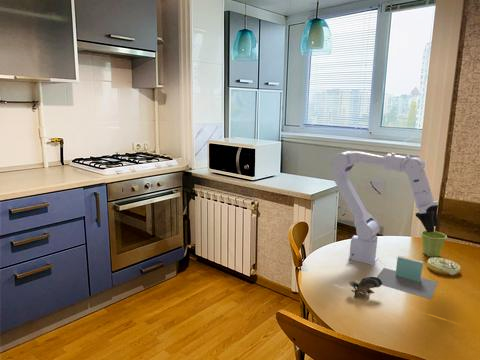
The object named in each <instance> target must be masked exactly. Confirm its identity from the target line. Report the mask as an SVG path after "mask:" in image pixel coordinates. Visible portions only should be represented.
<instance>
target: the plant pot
mask: <svg viewBox="0 0 480 360" xmlns="http://www.w3.org/2000/svg"><path fill="white" fill-rule="evenodd" d="M420 234H421V237H422V238H421V239H422V254H424V255H425V256H428V257H430V258H435V257H436V258H440V255H441V251H442V248H443V246H444V244H445V243H444V242H445V241H446V239H447V238H448V236H447V234H445V233H443V232H440V231H435V230H434V232H427V231H426V230H422V231H420Z"/></svg>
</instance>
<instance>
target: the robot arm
mask: <svg viewBox="0 0 480 360" xmlns="http://www.w3.org/2000/svg"><path fill="white" fill-rule="evenodd" d="M358 163H365V164H370V165H371V164H372V165H380V166H381V167H383V169H385V170H388V171H394V172H398V173H405V174H406V175H407V177H408V181H409V185H410V188H411V193H412V195H413V198H414V201H415V202H414V203H415V207H416V209H418V212H416V213H415V217H416V218H417V219H418V220H419V221H420V222H421V224H422V226H423V227H424V229H425V231H427V232H434V231H435V227H438V225H439V223H438V222H439V220H438V210H439V201H438V200H435V199H434V196H433V193H432V190H431V186H430V183H429V179H428V176H427V174H426V171H425V166H426V164H425V163H426V162H425V161H424V159H422V158H420V157H418V156H413V157H411V156H410V155H405V156H404V155H398V154H397V153H396V152H391V153H387V154H386V155H384V156H383V155H378V154H374V153H373V154H372V153H368V152H365V151H364V152H363V151H359V150H358V151H357V150H353V151H352V150H346V151H343V152H338V153H336V154H334V156H333V158H332V160H331V162H330V164H331V166H332V179H333V181H334V183H335V186H337V189H338V190H339V192H340V194H341V196H342V198H343V200H344V201H345V204H346V205H347V207H348V210H349V211H350V212H351V214H352V217H353V218H354V221H353V222H354V223H353V224H354V227H355V229H356V231H355V233H356V235H355V234H354V235H353V236H352V237H351V240H350V246H349V255H348V256H349V257H348V260H351V261H355V262H356V261H357V262H360V263H365V264H367V265H372V266H373V265H374V264H375V263H376V262H377V261H378V260H379V257H378V256H377V247H378V245H377V244H378V236H377V234H378V233H380V231H381V225H380V223H379V222H378V220H376V219H375V218H374V217H373V215H372V214H371V213H369V212H368V211H367V209H366V207H365V205H364V204H363V202H362V200H361V198H360V197H359V195H358V193H357V191H356V189H355V188H354V185H353V184H352V183H353V182H351V180H350V178H349V174H350V172H351V170H352V169H353V167H354V166H355V165H356V164H358Z"/></svg>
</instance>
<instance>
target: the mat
mask: <svg viewBox="0 0 480 360" xmlns="http://www.w3.org/2000/svg"><path fill="white" fill-rule="evenodd" d="M376 278H379V279H380V280H381V281H382V285H381V286H383V287H388V288H389V289H390V288H391V289H395V290H398V291H400V292H404V293H407V294H411V295H415V296H419V297H421V298H426V299H429V300H432V298H433V295H434V293H435V291H436V288H437V287H438V286H437V285H438V283H439V281H435V280H432V279H428V278H424V277H421V281H420V282H418V281H414V280H411V279H407V278H403V277H400V276H396V270H393V269H391V268H387V267H383V268H382V269H381V270H380V272H379V273H378V275H377V276H376Z"/></svg>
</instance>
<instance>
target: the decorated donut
mask: <svg viewBox="0 0 480 360" xmlns="http://www.w3.org/2000/svg"><path fill="white" fill-rule="evenodd" d="M426 262H427V263H426V266H427V268H428V270H430V271H432V272H433V273H436V274H439V275H444V276H458V275H459V274H461V273H460V272H461V265H459V264H458V263H457V262H455V261H453V260H450V259H447V258H443V257H437V256H435V257H430V258H428V259H427V261H426Z"/></svg>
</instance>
